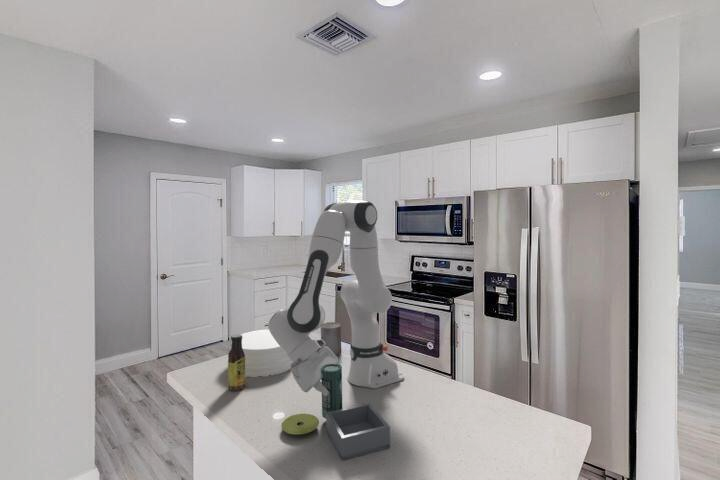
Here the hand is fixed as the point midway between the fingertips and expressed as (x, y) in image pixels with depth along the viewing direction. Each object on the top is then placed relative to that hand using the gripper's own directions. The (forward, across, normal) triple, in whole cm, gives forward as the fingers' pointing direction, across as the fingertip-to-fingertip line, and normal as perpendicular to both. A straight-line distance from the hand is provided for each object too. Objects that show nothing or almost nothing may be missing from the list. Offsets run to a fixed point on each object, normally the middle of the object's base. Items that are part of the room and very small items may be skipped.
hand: (333, 388), depth 111 cm
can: (+6, 0, +7) cm, 9 cm away
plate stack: (-26, +32, +42) cm, 59 cm away
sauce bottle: (-24, +8, +39) cm, 46 cm away
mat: (+2, -8, +13) cm, 15 cm away
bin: (+15, -7, 0) cm, 16 cm away
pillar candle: (-10, +54, +27) cm, 61 cm away
